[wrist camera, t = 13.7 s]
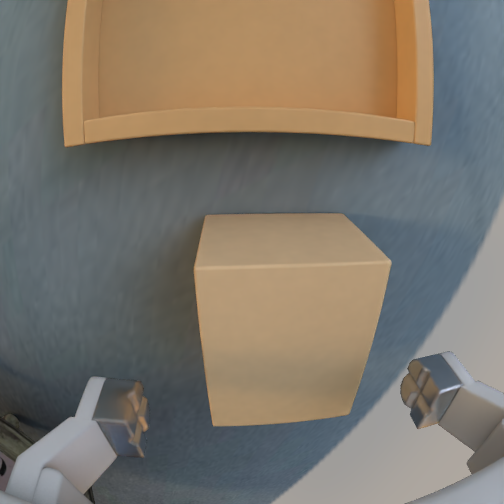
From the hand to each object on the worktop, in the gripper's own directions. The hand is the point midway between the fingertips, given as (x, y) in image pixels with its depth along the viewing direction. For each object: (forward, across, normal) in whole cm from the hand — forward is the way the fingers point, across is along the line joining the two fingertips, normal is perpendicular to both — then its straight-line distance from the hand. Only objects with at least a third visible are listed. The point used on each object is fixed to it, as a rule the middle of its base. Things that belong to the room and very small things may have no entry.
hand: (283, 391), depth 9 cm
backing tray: (+6, +1, -16) cm, 17 cm away
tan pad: (+6, 0, 0) cm, 6 cm away
